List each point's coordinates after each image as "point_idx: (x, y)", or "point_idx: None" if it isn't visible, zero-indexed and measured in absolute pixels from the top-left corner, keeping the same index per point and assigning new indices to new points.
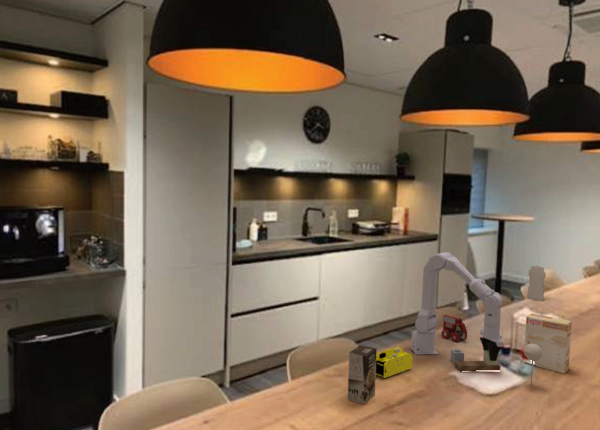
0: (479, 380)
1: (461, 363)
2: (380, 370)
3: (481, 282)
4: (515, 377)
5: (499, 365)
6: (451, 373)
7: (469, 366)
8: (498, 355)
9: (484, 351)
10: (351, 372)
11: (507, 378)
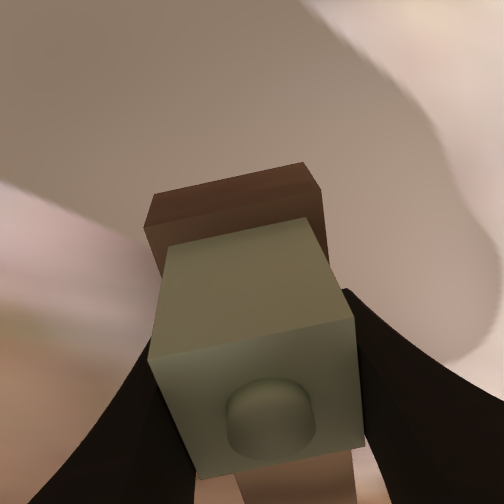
0: (490, 366)
1: (305, 496)
2: None
3: None
4: (454, 8)
5: (310, 200)
6: (366, 489)
7: (349, 451)
8: (344, 299)
9: (221, 461)
10: None
11: (474, 127)
